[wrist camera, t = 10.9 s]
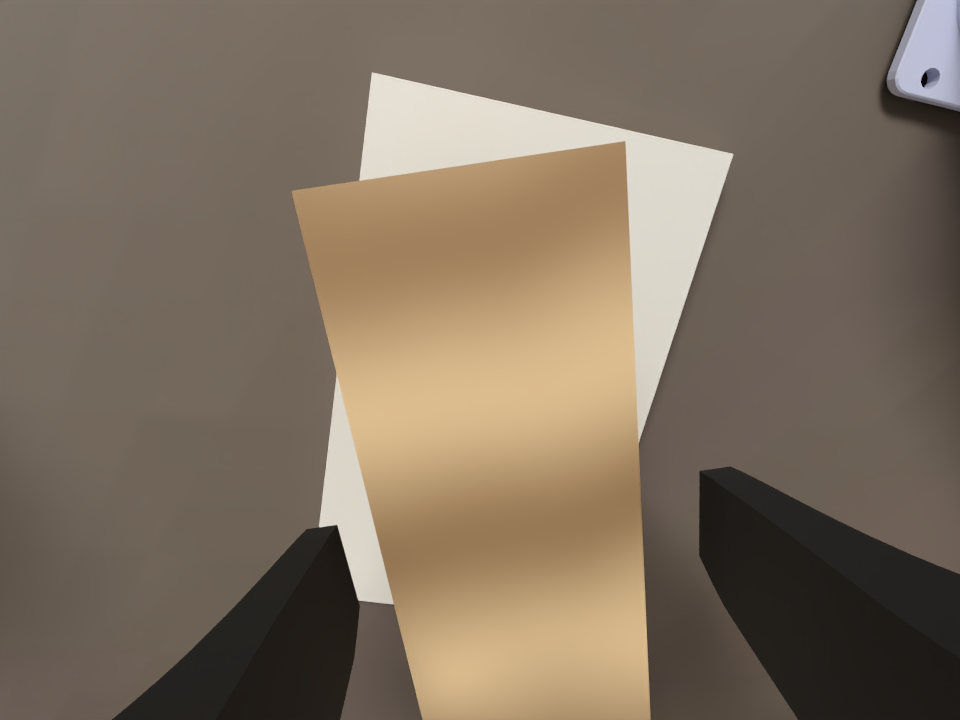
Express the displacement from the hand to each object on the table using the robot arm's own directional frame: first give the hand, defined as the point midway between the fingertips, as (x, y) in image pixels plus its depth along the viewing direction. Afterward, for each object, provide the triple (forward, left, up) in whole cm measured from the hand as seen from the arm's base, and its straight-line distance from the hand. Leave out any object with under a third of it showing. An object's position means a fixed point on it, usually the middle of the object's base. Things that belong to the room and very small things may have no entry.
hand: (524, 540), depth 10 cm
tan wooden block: (0, 0, -5) cm, 5 cm away
